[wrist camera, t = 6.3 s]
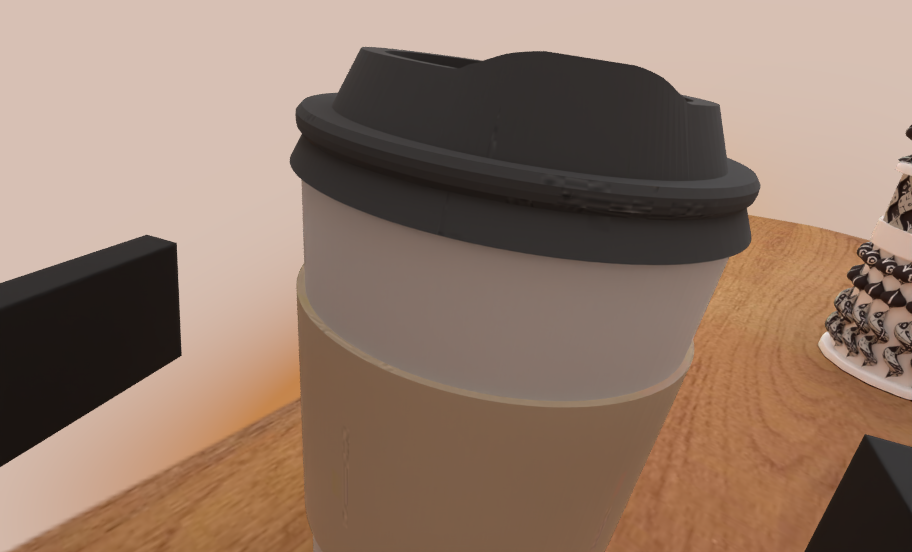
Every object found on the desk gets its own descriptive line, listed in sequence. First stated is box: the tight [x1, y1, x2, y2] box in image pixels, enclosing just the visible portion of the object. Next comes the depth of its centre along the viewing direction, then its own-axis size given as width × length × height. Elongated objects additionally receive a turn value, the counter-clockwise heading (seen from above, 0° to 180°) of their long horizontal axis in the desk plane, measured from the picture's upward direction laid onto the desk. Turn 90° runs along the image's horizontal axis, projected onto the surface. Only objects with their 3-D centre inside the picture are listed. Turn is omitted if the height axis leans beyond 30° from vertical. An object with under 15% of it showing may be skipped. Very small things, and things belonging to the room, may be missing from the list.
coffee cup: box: [290, 47, 760, 552], centre depth 14 cm, size 9×9×15 cm
